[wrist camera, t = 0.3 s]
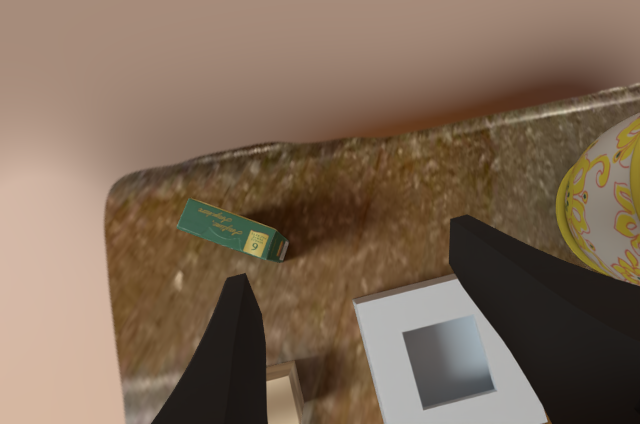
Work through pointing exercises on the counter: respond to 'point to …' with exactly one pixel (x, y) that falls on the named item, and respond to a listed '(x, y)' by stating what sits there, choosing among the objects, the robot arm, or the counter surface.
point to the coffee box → (233, 231)
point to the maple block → (284, 394)
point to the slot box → (441, 359)
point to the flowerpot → (605, 203)
